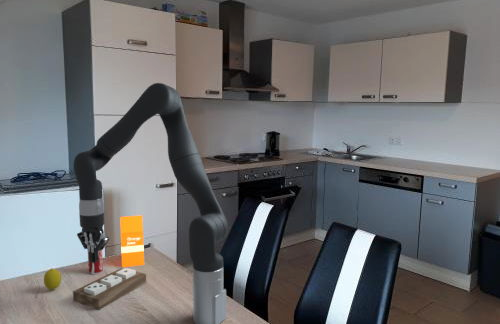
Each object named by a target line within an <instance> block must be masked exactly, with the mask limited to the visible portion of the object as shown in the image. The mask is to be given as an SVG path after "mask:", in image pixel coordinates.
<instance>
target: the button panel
mask: <svg viewBox="0 0 500 324" xmlns="http://www.w3.org/2000/svg"><path fill="white" fill-rule="evenodd" d="M124 268H125V267H120V268H118V269H116V270H115V271H112V272H110V273H109V274H106V275H104V276H101V277H100V278H98V279H96V280H94V281H92V282H90V283H89V282H88V283H87V284H85V285H83V286H81V287H79V288H77V289H75V290H73V291H72V295H73V302H75V303H78V304H81V305H84V306H86V307H90V308H92V309H95V310H98V311H100V310H101V309H103V308H105V307H107V306H108V305H111V304H112V303H114V302H115V301H117V300H119V299H121V298H123V297H125V296H127V295H128V294H129V293H131V292H134V291H135V290H136V289H138V288H140V287H142V286H144V285H145V284H147V273H143V272H139V271H136V274H135V275H133V276H131V277H130V278H128V279H123V278H122V282H120V283H118V284H116V285H114V286H112V287H109V286H106V288H107V290H105V291H103V292H101V293H99V294H97V295H95V296H94V295H91V294H87V293H84V288H85V287H87V286H89V285H91V284H93V283H95V282H97V283H100V284H101V281H100V280H101V279H104V278H106V277H108V276H110V275H115V276H116V272H118V271H120V270H122V269H124Z"/></svg>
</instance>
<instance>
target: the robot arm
mask: <svg viewBox="0 0 500 324" xmlns="http://www.w3.org/2000/svg"><path fill="white" fill-rule="evenodd" d="M156 115H158V116H159V117H160V119H161V121H162V124H163V126H164V128H165V131H166V136H167V156H168V160H169V163H170V166H171V170H172V172H173V175H174V177H175V179H176V180H177V182H178V183H179V185H180V186H181V187H182V188H183V189H184V190H185V191H186V192H187V193H188V194H189V195H190V196H191V197H192V198H193V200H194V202H195V203H196V206H197V208H198V211H199V213H200V216H198V217H195V218H193V220H191V222H190V224H189V228H188V245H189V247H188V248H189V256H190V260H191V262H192V296H193V297H192V308H193V309H192V311H193V312H192V313H193V322H194V324H221V323H223V322H224V320H226V319H227V289H226V288H224V257H223V256H222V255H221V254H220V253H218V252H216V244H218V243H220V242H221V241H223V240H225V238H226V237H227V235H228V233H229V226H228V224H229V223H228V220H227V217H226V215H225V214H224V212H223V209H222V208H221V206H220V203H219V202H218V199H217V197H216V195H215V193H214V190H213V188H212V185H211V182H210V180H209V177H208V175H207V173H206V170H205V166H204V164H203V160H202V157H201V154H200V152H199V151H198V147H197V145H196V142H195V140H194V138H193V134H192V133H191V130H190V127H189V125H188V122H187V118H186V114H185V110H184V106H183V103H182V98H181V95H180V94H179V92H178V91H177V90H176V88H174V87H172V86H170V85H167V84H164V83H161V82H155V83H152V84H151V85H149V86H148V87H147V88H146V89H145V90H144V92H143V93H142V94H141V95H140V96H139V98H137V100H136V101H135V102H134V104H132V106H131V107H130V108H129V109H128V111H127V112H126V113H125V114H124V115H123V116H122V117H121V118H120V119H119V120H118V121H117V122H116V123H115V124H114V125H112V127H110V128H109V129H108V130H107V131H106V132H105V133H104V134H102V135H101V136H100V137H99V138H98V139H97V141H96V144H95V145H94V146H93V147H92V148H91V149H89V150H87V151H86V150H85V151H82V152H79V153H78V154H76V156H75V157H74V160H73V165H72V167H73V171H74V175H75V178H76V179H75V180H76V182H77V185H78V187H79V188H78V192H79V193H78V197H79V202H78V203H79V204H78V209H79V210H78V211H79V212H78V215H79V226H80V228H81V231H79V232H78V233H77V234H76V236H77V238H78V240H79V242H80V244H81V245H82V246H83V249H84V250H87V253H88V252H89V259H90V262H91V263H96V262H98V260H99V254H98V252H99V251H100V250H102V251H103V250H104V249H105V247H106V245H107V244H108V242H109V240H110V237H109V236H106V235H104V228H103V226H104V225H105V222H106V221H105V203H104V197H103V196H104V195H103V194H104V193H103V183H102V181H101V180H99V179H97V173H96V172H98V171H100V170H102V169H103V168H104V167H105V166H106V165H107V164H108V163H109V162H110V161H111V159H113V158H114V156H115V155H116V154H118V153H119V152H120V151H122V150H123V149H124V148H126V147H127V145H128V144H129V143H130V142H131V141H132V140H133V139H134V137H135V135H136V134H137V132H138V130H139V129H140V128H141V127H142V126H143V124H145V122H147V121H148V120H150V119H151V118H153V117H154V116H156Z"/></svg>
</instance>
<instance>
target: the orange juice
mask: <svg viewBox="0 0 500 324" xmlns="http://www.w3.org/2000/svg"><path fill="white" fill-rule="evenodd" d="M119 221H120V244H121V245H120V248H121V249H120V251H121V252H120V253H121V268H129V267H137V266H144V265H145V253H144V252H145V247H144V246H145V245H144V225H143V215H130V216H120V220H119Z"/></svg>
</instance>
